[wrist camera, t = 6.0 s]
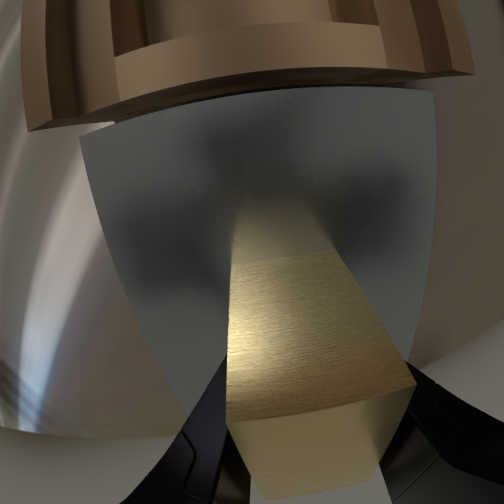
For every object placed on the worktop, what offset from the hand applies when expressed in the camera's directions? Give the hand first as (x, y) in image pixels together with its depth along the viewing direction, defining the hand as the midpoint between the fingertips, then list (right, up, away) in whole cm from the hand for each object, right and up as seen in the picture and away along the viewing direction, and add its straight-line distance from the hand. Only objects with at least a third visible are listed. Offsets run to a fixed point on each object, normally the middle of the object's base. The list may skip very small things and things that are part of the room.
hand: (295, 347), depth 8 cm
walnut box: (-3, +17, -1) cm, 17 cm away
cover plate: (0, +1, +2) cm, 2 cm away
